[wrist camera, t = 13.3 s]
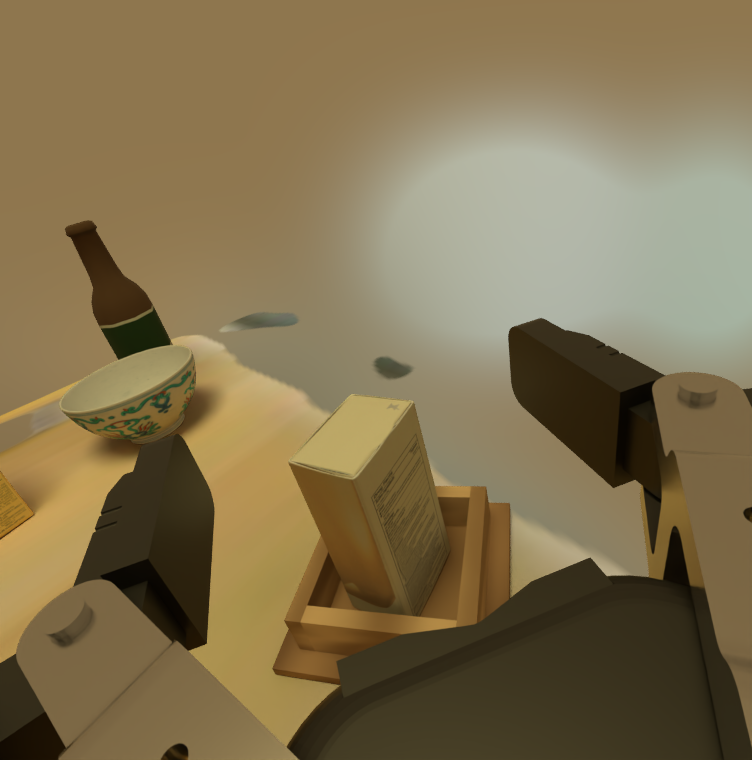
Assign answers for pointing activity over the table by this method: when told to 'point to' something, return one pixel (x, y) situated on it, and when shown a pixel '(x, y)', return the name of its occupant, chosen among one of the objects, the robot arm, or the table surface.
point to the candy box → (11, 507)
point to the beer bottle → (117, 298)
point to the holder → (366, 629)
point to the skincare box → (375, 503)
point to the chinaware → (135, 395)
